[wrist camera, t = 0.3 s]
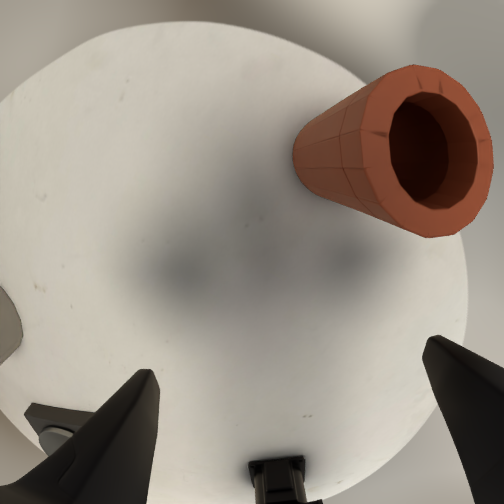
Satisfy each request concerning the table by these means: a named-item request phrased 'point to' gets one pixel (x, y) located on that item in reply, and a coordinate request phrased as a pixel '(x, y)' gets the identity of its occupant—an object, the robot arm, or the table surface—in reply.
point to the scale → (55, 418)
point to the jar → (402, 152)
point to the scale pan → (53, 439)
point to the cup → (8, 327)
